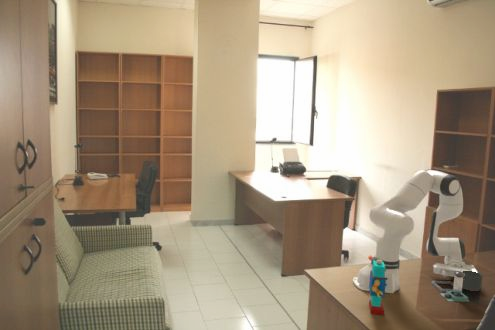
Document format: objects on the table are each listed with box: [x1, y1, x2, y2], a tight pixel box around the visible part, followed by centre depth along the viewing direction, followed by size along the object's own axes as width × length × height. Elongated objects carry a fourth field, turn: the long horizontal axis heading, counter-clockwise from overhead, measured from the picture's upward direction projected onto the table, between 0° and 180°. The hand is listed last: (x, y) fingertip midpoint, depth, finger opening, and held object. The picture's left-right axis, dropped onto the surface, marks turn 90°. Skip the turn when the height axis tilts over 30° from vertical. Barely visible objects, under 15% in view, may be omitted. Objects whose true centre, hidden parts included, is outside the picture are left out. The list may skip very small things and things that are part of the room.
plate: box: [439, 291, 470, 302], centre depth 194 cm, size 10×8×2 cm
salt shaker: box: [452, 271, 465, 297], centre depth 193 cm, size 4×4×12 cm
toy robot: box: [368, 255, 386, 316], centre depth 178 cm, size 12×6×25 cm, turn 168°
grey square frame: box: [431, 280, 454, 293], centre depth 205 cm, size 10×10×2 cm
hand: (456, 277), depth 202 cm, fingers open, 8 cm apart
